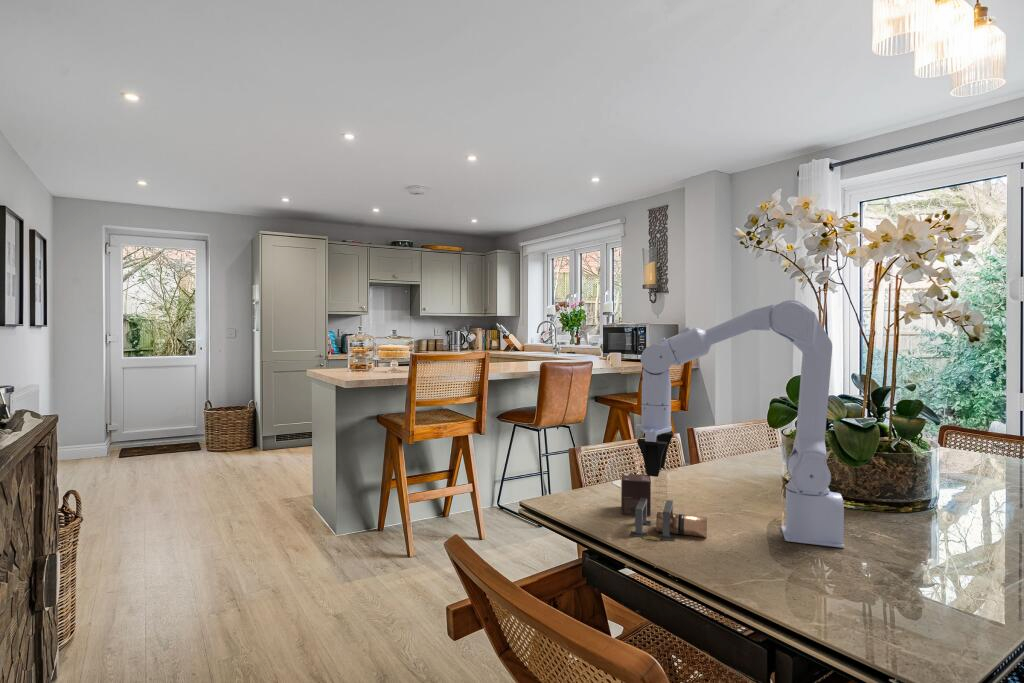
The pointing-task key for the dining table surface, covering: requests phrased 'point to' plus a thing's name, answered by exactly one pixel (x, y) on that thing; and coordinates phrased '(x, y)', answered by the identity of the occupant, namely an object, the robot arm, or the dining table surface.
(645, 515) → the collar
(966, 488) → the dining table surface
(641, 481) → the box
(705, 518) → the tube
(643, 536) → the index mark
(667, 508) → the dark grey support bracket
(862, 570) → the dining table surface
